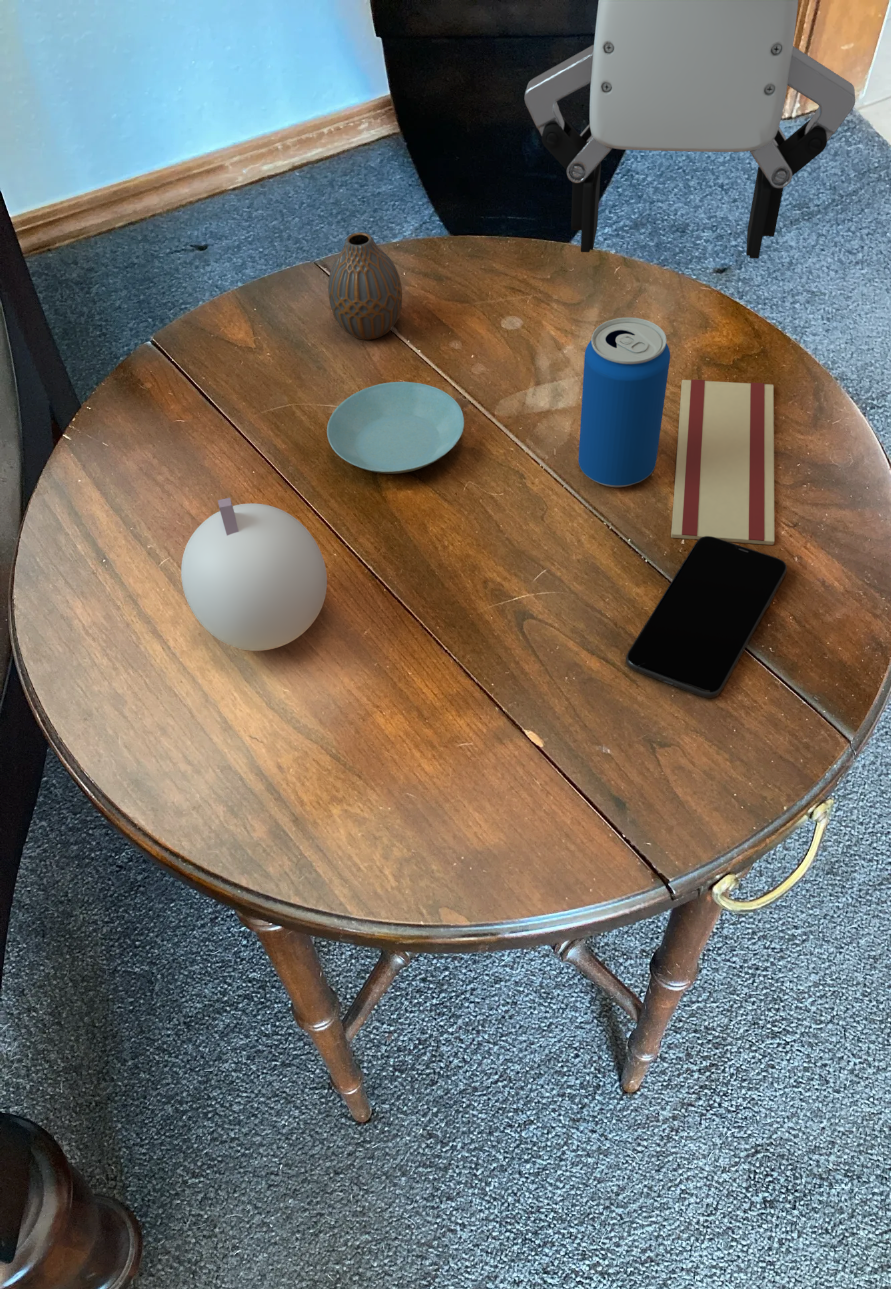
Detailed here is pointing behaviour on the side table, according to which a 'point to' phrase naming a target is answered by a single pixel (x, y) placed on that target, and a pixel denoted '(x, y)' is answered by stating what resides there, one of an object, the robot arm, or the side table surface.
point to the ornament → (253, 576)
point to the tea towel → (725, 462)
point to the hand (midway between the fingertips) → (669, 243)
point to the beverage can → (623, 401)
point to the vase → (364, 288)
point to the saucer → (395, 427)
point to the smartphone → (707, 616)
